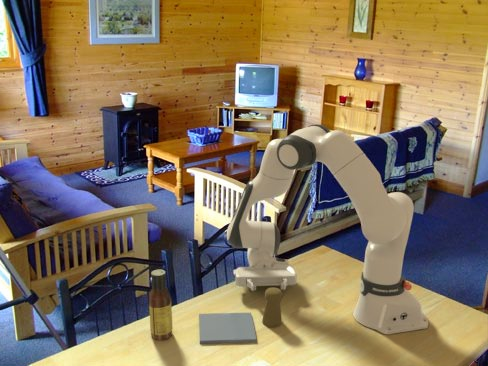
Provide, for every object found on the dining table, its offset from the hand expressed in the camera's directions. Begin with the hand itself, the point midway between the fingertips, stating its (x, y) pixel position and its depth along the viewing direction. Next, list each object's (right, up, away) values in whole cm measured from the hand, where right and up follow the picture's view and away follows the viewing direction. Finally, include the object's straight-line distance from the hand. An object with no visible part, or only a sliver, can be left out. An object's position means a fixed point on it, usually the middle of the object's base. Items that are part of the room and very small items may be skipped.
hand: (268, 288), depth 169 cm
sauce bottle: (-32, -10, -16) cm, 37 cm away
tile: (-13, -10, -12) cm, 20 cm away
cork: (+1, -9, -8) cm, 12 cm away
